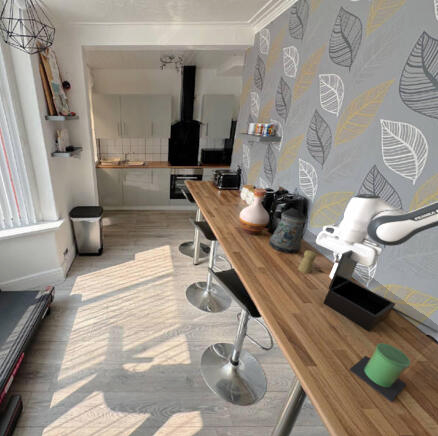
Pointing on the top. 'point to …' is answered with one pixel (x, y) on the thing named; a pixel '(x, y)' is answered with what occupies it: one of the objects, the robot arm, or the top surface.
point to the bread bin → (359, 304)
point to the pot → (386, 365)
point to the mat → (386, 392)
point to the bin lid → (343, 270)
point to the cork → (307, 262)
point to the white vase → (255, 214)
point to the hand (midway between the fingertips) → (338, 263)
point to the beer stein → (288, 231)
